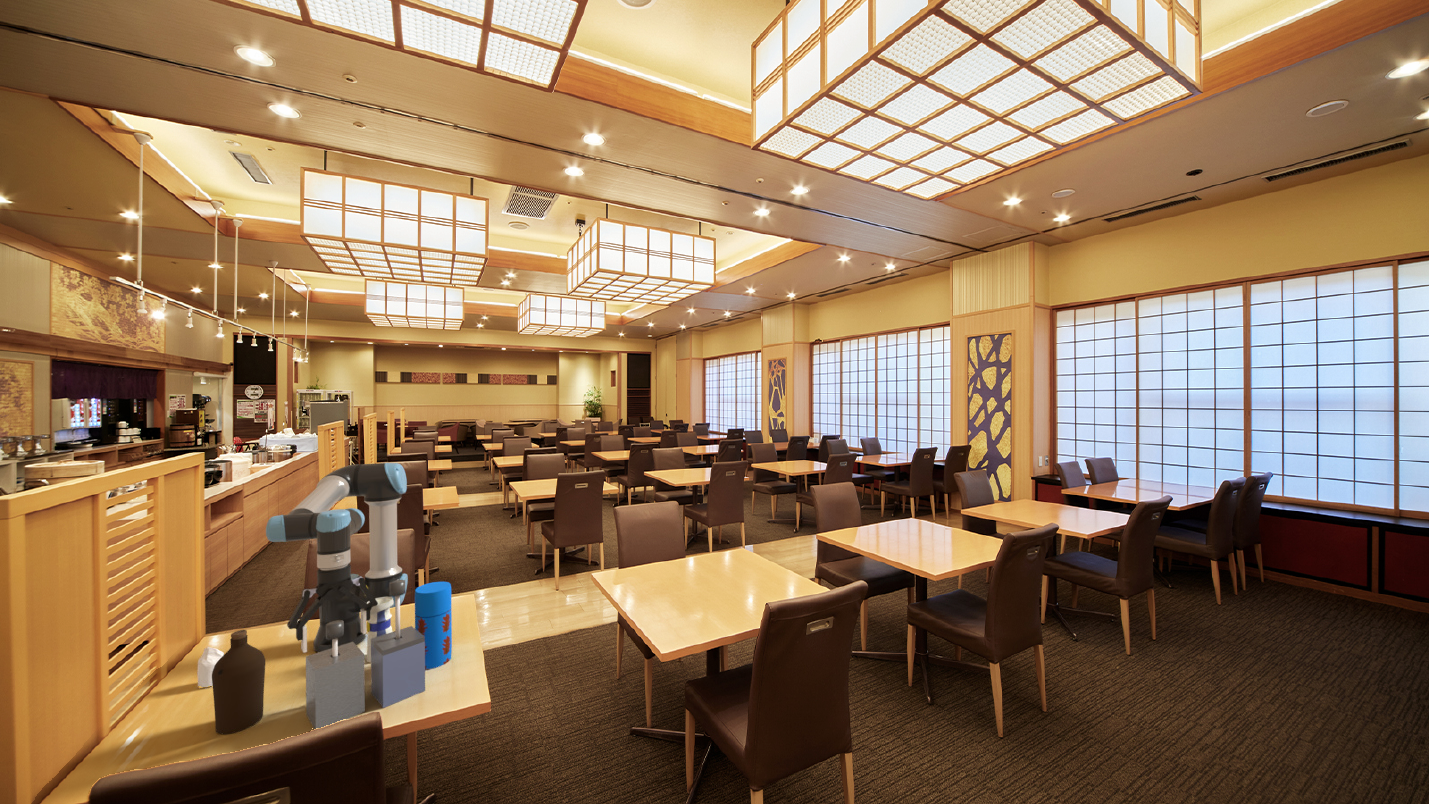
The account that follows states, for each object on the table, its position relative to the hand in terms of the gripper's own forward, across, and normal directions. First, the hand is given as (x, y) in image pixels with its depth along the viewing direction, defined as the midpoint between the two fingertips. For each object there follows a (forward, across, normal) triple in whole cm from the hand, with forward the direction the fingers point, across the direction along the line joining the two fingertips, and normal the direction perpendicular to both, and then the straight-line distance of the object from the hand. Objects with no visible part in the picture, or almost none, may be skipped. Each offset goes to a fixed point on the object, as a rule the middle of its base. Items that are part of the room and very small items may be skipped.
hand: (334, 641), depth 140 cm
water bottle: (+21, +18, +26) cm, 38 cm away
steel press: (+20, 0, +2) cm, 20 cm away
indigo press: (+20, +15, 0) cm, 25 cm away
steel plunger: (+15, 0, 0) cm, 15 cm away
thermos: (+21, +29, +9) cm, 37 cm away
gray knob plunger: (+7, +15, -2) cm, 17 cm away
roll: (+21, -21, +48) cm, 56 cm away
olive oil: (+21, -18, +15) cm, 31 cm away
